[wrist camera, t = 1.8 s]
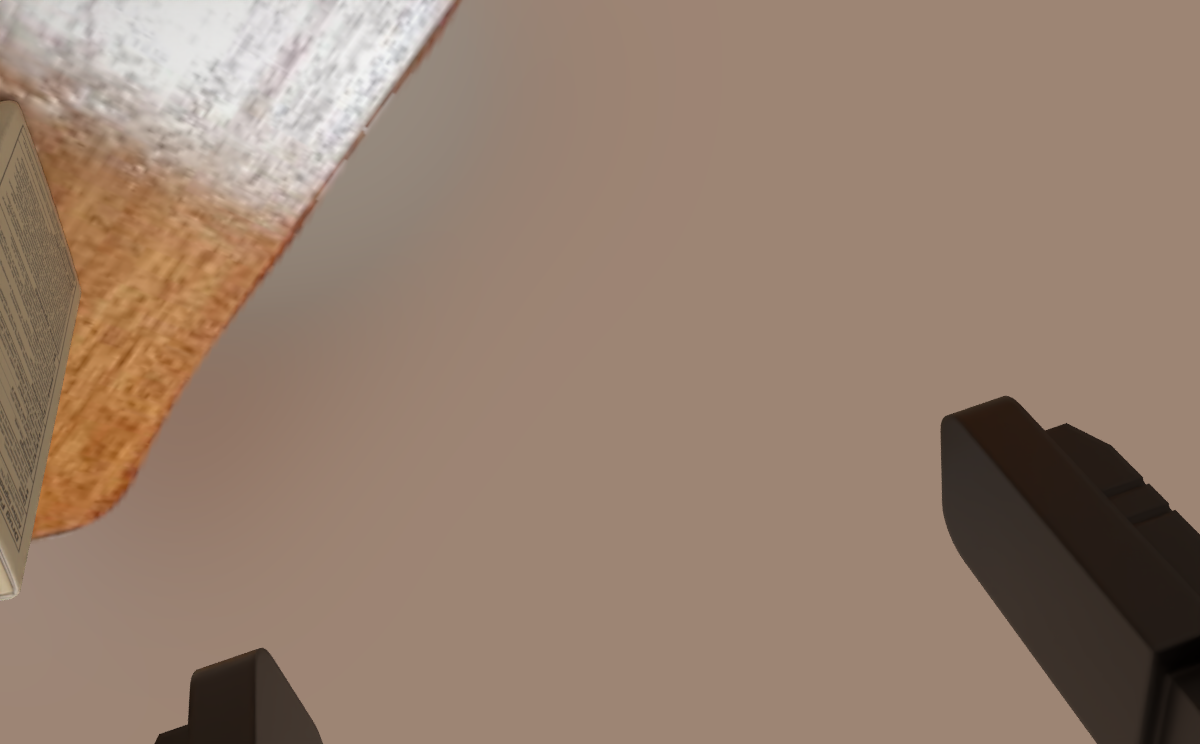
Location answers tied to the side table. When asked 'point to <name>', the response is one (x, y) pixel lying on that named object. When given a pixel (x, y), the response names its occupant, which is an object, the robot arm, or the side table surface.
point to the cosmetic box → (28, 336)
